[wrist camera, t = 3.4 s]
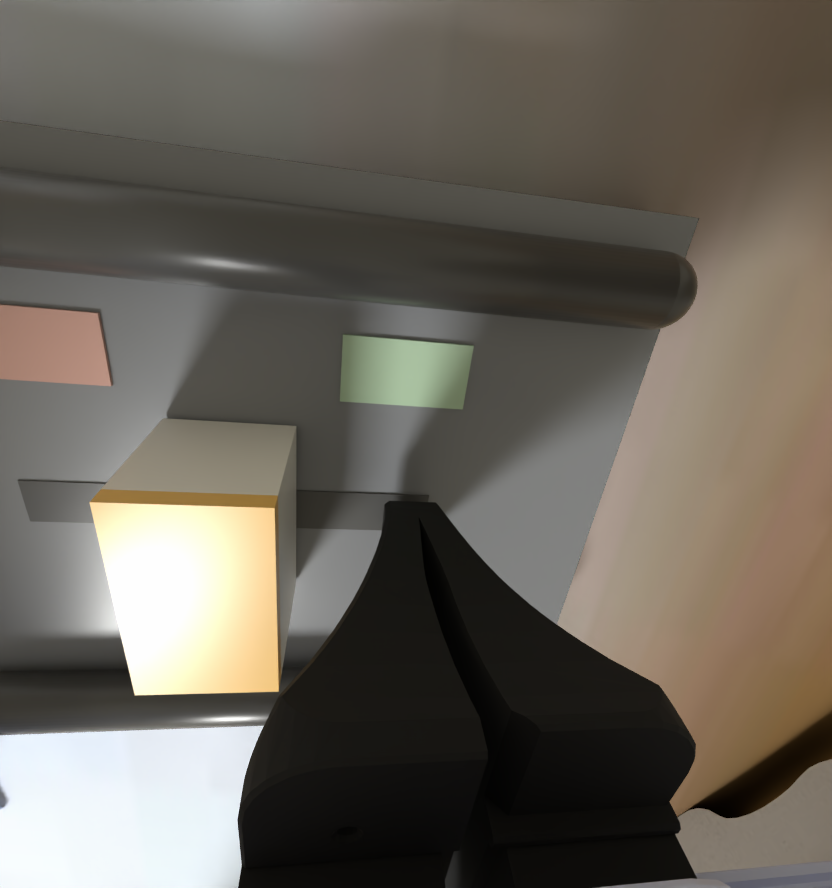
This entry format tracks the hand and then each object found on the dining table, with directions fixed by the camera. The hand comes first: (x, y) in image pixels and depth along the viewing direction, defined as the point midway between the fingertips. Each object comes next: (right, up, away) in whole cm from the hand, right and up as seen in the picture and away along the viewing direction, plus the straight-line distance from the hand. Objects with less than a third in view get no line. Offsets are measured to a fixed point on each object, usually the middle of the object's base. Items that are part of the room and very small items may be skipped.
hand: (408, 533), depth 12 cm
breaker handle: (-4, +1, 0) cm, 4 cm away
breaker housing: (-4, +2, +2) cm, 4 cm away
